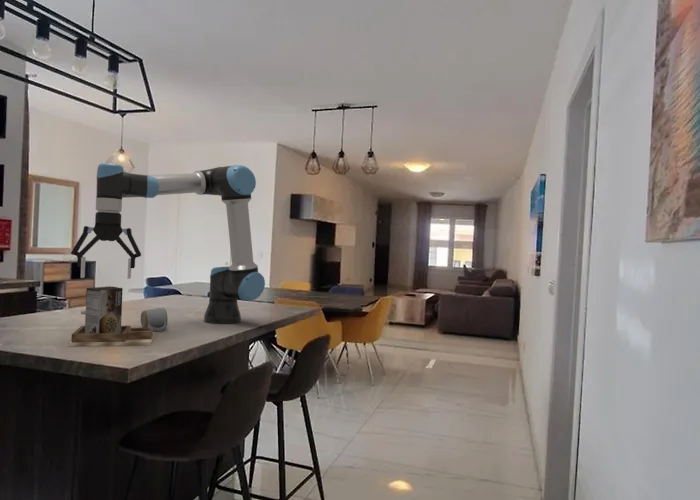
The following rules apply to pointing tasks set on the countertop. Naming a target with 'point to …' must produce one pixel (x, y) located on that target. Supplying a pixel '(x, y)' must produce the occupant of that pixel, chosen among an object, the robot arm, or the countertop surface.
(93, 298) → the coffee box
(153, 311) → the ceramic mug
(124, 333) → the board
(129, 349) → the countertop surface
